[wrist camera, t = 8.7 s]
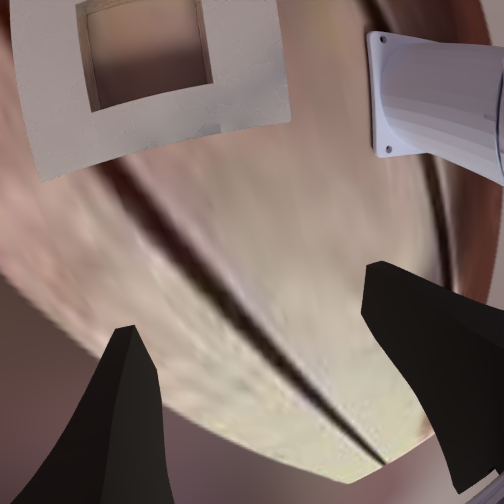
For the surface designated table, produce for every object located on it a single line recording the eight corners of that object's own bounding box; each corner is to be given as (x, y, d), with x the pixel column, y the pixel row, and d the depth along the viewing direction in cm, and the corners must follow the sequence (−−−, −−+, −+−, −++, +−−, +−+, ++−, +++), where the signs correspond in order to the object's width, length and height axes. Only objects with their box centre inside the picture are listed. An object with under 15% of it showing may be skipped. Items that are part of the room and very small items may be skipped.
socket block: (252, -49, 10) (264, -65, 9) (276, 117, 16) (291, 122, 14) (26, 3, 9) (9, -6, 7) (55, 170, 14) (40, 183, 12)
